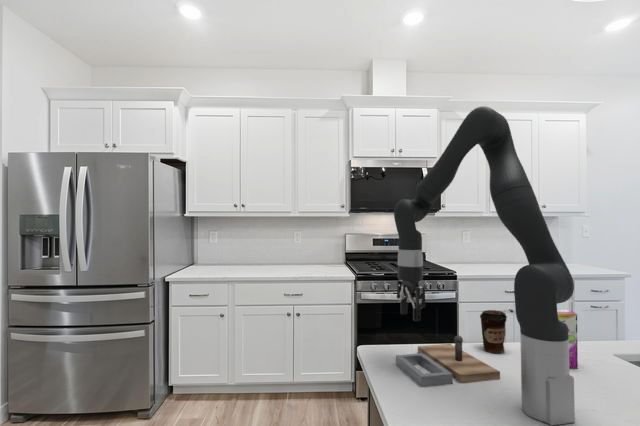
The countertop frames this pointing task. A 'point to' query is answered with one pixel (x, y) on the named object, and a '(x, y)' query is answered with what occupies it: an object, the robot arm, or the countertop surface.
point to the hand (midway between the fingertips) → (410, 317)
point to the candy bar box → (570, 334)
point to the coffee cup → (493, 330)
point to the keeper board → (459, 362)
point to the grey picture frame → (431, 379)
